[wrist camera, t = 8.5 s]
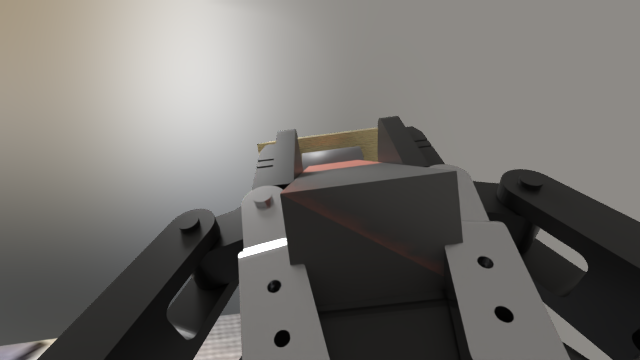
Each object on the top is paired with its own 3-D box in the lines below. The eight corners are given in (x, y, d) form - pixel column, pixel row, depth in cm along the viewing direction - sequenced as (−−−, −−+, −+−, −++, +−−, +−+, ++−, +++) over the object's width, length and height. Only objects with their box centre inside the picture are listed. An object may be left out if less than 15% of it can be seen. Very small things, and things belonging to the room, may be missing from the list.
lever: (310, 204, 22) (303, 153, 22) (361, 197, 22) (355, 146, 22) (282, 357, 5) (250, 146, 5) (492, 331, 5) (474, 117, 5)
